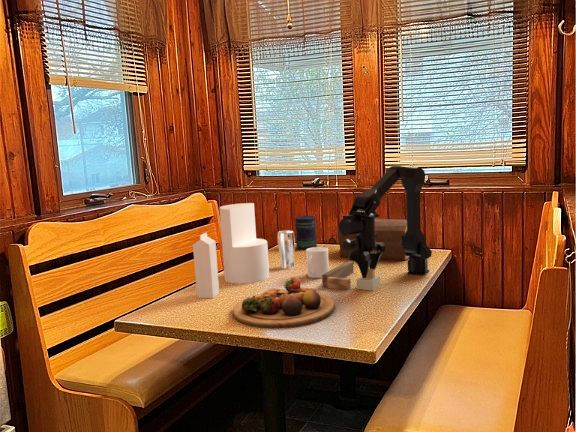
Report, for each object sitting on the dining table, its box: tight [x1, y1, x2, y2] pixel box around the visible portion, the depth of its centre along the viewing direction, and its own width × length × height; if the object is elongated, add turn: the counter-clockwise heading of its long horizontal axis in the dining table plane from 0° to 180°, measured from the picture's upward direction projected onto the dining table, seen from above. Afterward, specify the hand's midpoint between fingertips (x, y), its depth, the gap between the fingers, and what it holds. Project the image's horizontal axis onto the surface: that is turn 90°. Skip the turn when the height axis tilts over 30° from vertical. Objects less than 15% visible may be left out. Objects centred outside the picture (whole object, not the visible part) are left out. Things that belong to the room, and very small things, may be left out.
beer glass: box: [277, 229, 296, 270], centre depth 230 cm, size 7×7×15 cm
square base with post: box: [356, 268, 381, 291], centre depth 197 cm, size 6×7×6 cm
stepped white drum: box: [219, 202, 270, 285], centre depth 217 cm, size 17×17×28 cm
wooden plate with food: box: [232, 276, 336, 329], centre depth 175 cm, size 32×32×8 cm
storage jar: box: [294, 215, 318, 251], centre depth 266 cm, size 10×10×15 cm
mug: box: [305, 246, 330, 279], centre depth 214 cm, size 12×8×10 cm
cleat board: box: [321, 260, 354, 291], centre depth 206 cm, size 10×22×4 cm, turn 149°
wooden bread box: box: [337, 218, 409, 261], centre depth 244 cm, size 18×30×16 cm, turn 62°
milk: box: [192, 231, 220, 299], centre depth 196 cm, size 6×6×22 cm
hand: (368, 275), depth 196 cm, fingers open, 7 cm apart
